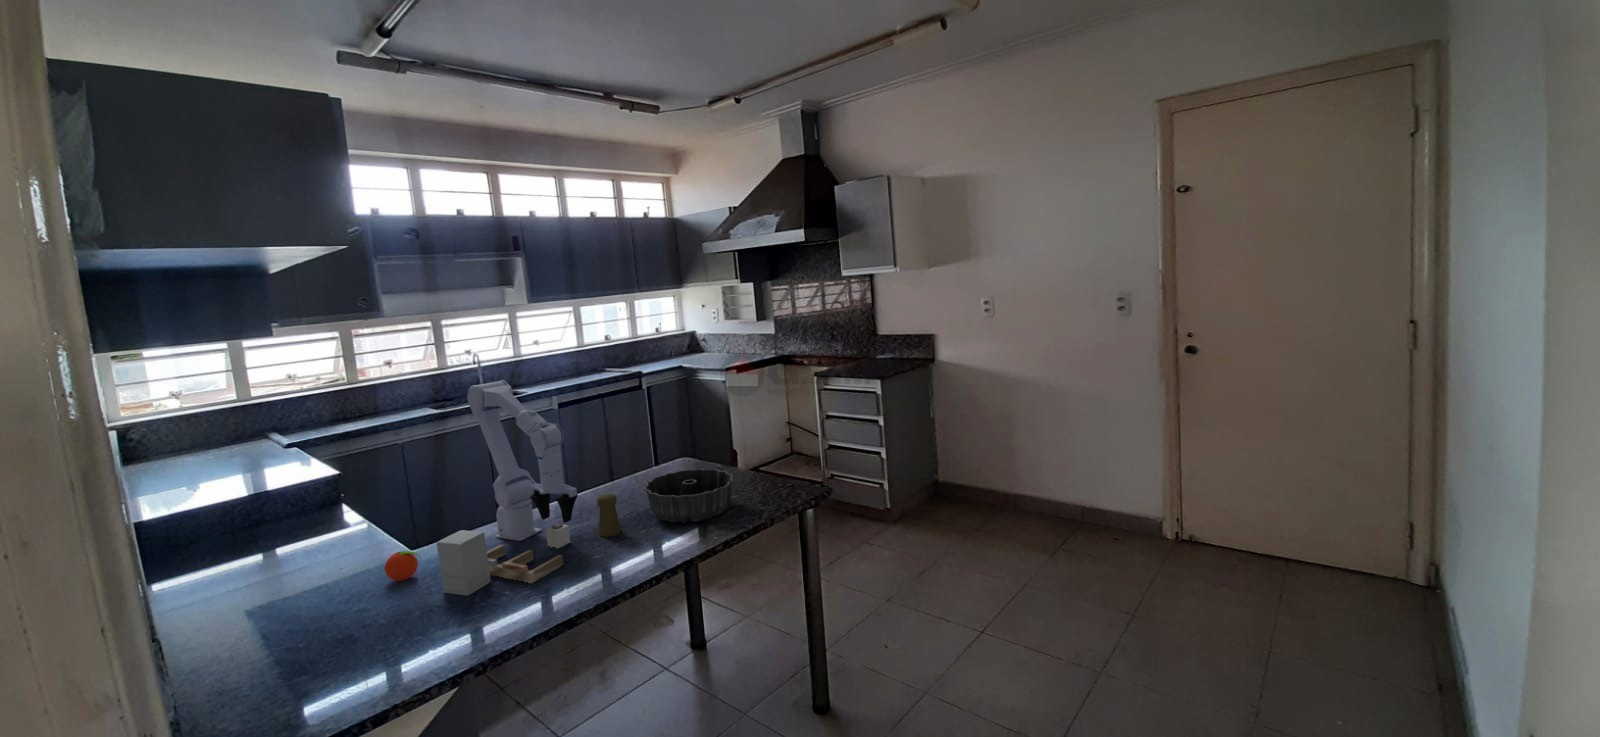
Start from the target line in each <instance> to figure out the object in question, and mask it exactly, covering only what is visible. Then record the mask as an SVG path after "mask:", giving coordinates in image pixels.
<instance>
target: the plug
mask: <svg viewBox="0 0 1600 737" xmlns="http://www.w3.org/2000/svg"><path fill="white" fill-rule="evenodd" d="M545 533H546V542H547V547H548V546H550V547H549V548H552V547H556V548H555V549H558V548H560V547H561V548H563V547H565V546H567V545H568V544H567V543H569V544H571V538H570V528H569V524H563V523H557V522H556V523H555V524H553V525H551V526H550V527H547V528H545ZM566 544H567V545H566ZM564 545H565V546H564ZM562 546H563V547H562ZM561 548H560V549H561Z"/></svg>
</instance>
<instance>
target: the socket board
mask: <svg viewBox="0 0 1600 737" xmlns="http://www.w3.org/2000/svg"><path fill="white" fill-rule="evenodd" d="M505 549H506V548H505V545H504V544H499V545H498V546H495V547H494V548H491V549H489V550H487V557H488V564H489V571H490V576H492V577H497V576H499V577H498V578H502V577H503V579H507V580H511V579H513V581H516V580H518V582H521V581H524V582H523V583H526V582H528V583H527V584H531V583H532V584H534V583H535V582H537V581H538V580H540V578H541V579H542V578H543V577H545V576H548V575H549V574H551V573H552V571H553V570H554V571H556V570H558V569H559V568H561V567H562V566H561V565H563V566H564V558H563V555H560V554H557V555H556V556H555V557H552V558H551V559H549V560H547V561H546V562H544V563H542V564H540V565H538V566H537V567H535V568H533V569H531V570H529V567H528V565H527V564H528V563H530V562H532V561H533V559H534V558H535V557H534V551H533V550H532V549H527V550H526V551H525V552H522V553H520V554H518V555H517V556H515V557H512V558H510V559H509V560H507V561H504V562H502V563H501V564H499V563H498V559H499V558H501V557H503V556H505V555H506V550H505ZM531 560H532V561H531ZM529 561H530V562H529ZM527 562H528V563H527ZM524 564H525V565H524ZM560 566H561V567H560ZM558 567H559V568H558ZM557 568H558V569H557ZM555 569H556V570H555ZM554 571H553V572H554ZM550 572H551V573H550ZM508 578H509V579H508ZM533 582H534V583H533Z"/></svg>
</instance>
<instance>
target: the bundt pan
mask: <svg viewBox="0 0 1600 737" xmlns="http://www.w3.org/2000/svg"><path fill="white" fill-rule="evenodd" d="M733 483H734V475H733V474H732V473H728V472H727V471H726V470H720V469H716V468H706V469H705V468H695V469H683V470H681V469H680V470H677V471H673V472H666V473H665V474H663V475H659V476H655V477H653V478H652V479H650V481H647V482H645V486H644V487H643V489H644V492H646V496H647V499H648V503H649V507H650V509H651V511H652V513H653V514H655V516H656V517H657V518H658V519H659V520H661V521H668V522H670V523H678V522H681V523H682V524H686V523H688V522H689V521H690V522H691V523H694V522H701V521H702V520H703V519H704V520H710V519H711V518H712V517H714V516H718V515H720V514H721V513H722V512H723V511H725V510H726V509H727V508H728V507H729V506H730V504H731V501H732V493H733V492H732V490H733Z"/></svg>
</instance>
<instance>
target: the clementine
mask: <svg viewBox="0 0 1600 737" xmlns="http://www.w3.org/2000/svg"><path fill="white" fill-rule="evenodd" d="M415 555H416V556H417V557H419V559H422V557H421V556H420V555H419V554H418V553H416V552H415V551H410V550H409V551H408V550H406V551H405V550H403V551H402V550H401V551H398V552H395V553H394V554H391V556H389V557H388V559H387V560H386V561H385V564H384V572H385V575H386V576H387V577H388V579H390V580H392V581H395V582H402V581H406V580H408V579H410V578H412V576H414V574H415V573H416V572H417V569H418V566H419V561H418V559H417V557H416V556H415Z"/></svg>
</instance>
